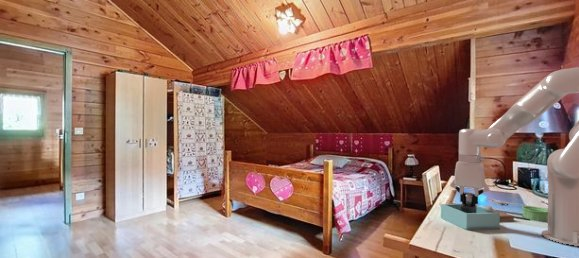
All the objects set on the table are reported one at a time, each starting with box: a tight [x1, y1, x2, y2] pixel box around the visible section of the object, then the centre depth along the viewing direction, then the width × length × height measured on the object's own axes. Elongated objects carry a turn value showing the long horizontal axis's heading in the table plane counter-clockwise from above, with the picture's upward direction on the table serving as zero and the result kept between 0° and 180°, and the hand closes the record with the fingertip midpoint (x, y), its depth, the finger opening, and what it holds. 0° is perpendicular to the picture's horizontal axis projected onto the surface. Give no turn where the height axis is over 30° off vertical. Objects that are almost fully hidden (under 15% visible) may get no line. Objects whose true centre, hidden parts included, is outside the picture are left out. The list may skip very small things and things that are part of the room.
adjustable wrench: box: [487, 198, 548, 210], centre depth 136 cm, size 25×6×2 cm, turn 43°
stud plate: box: [484, 205, 515, 222], centre depth 119 cm, size 12×12×5 cm
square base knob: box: [461, 191, 478, 213], centre depth 110 cm, size 5×5×9 cm
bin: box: [440, 203, 501, 231], centre depth 110 cm, size 14×14×6 cm
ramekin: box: [522, 205, 548, 223], centre depth 117 cm, size 9×9×4 cm
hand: (468, 204), depth 110 cm, fingers closed on square base knob, 3 cm apart
